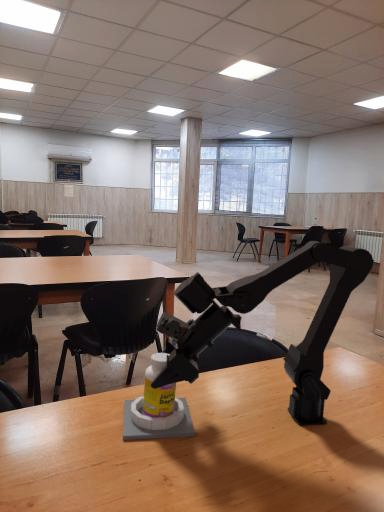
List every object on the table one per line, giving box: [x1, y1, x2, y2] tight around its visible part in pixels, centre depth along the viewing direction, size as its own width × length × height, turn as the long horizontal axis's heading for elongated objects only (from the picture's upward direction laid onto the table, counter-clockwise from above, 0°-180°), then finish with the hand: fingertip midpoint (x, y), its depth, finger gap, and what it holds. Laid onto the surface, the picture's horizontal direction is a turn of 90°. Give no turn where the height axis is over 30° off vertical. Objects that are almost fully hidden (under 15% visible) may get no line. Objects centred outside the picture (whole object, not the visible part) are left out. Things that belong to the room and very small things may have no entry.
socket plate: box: [122, 395, 196, 441], centre depth 81 cm, size 14×14×3 cm
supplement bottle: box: [143, 352, 177, 418], centre depth 80 cm, size 7×7×13 cm
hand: (152, 378), depth 80 cm, fingers open, 7 cm apart
